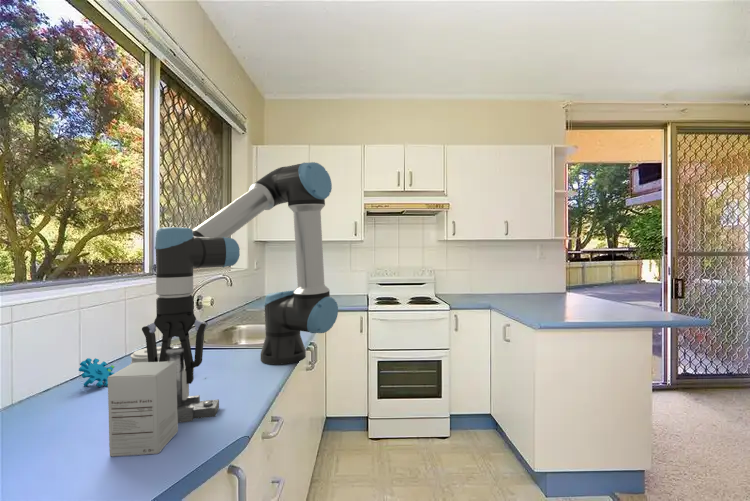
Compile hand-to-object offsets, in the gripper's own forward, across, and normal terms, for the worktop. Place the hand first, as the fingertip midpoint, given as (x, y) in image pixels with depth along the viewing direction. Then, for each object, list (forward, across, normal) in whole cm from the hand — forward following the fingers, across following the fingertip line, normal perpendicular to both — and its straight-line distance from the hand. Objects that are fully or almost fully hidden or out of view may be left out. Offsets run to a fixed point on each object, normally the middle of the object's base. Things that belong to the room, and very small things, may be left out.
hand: (176, 398), depth 88 cm
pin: (+2, 0, 0) cm, 2 cm away
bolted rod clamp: (+4, 0, 0) cm, 4 cm away
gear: (+4, +28, -28) cm, 40 cm away
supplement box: (+4, +2, +12) cm, 13 cm away
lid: (+4, +20, -48) cm, 52 cm away
